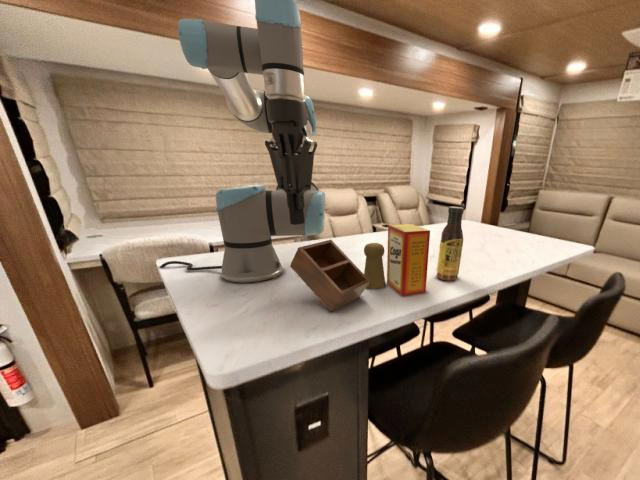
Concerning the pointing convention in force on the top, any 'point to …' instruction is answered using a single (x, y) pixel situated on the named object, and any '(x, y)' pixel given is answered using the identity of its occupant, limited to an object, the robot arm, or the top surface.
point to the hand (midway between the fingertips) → (297, 223)
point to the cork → (374, 265)
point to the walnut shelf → (329, 273)
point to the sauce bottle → (451, 246)
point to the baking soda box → (407, 258)
